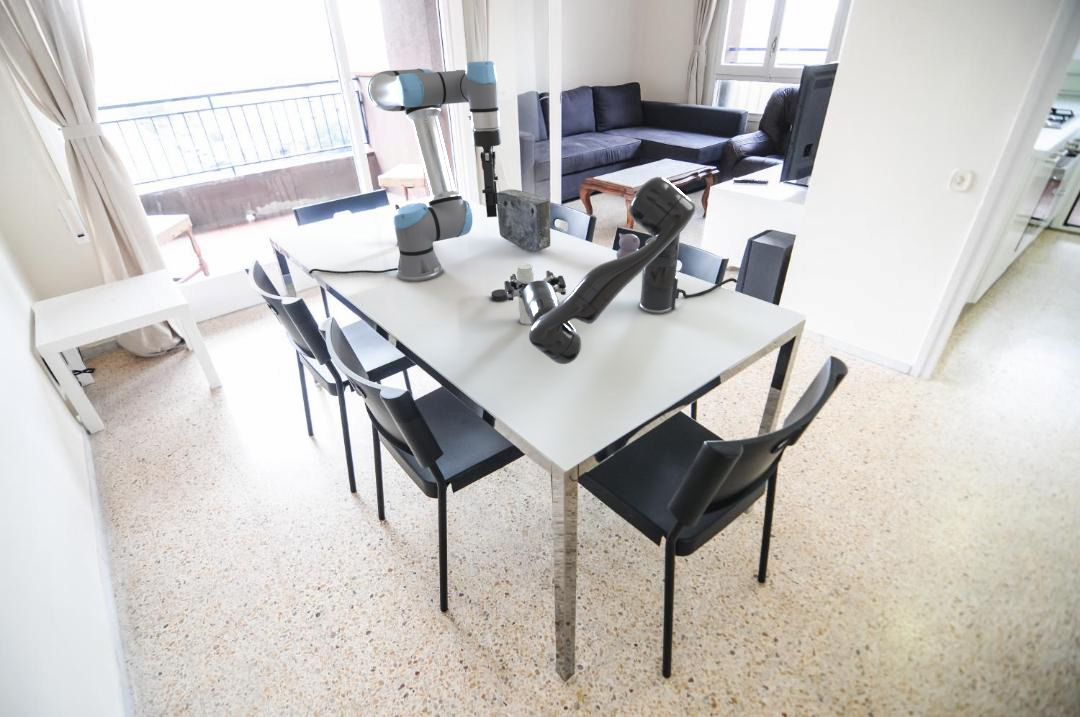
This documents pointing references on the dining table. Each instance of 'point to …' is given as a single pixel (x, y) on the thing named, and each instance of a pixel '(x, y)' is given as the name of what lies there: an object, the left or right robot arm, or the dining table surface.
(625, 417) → the dining table surface
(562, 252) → the dining table surface
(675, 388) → the dining table surface
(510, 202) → the concrete block
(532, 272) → the cylinder
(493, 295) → the lid
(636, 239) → the cat figurine
